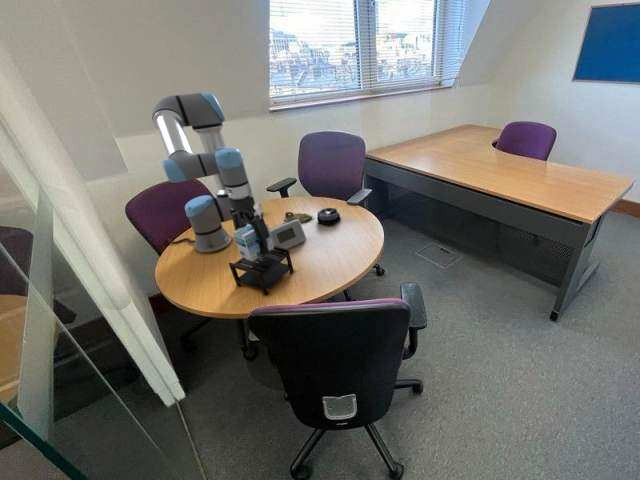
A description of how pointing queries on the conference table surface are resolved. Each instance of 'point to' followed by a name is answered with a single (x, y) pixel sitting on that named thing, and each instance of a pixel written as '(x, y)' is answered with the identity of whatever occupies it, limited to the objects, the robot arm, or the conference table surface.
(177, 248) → the conference table surface
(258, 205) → the mineral specimen
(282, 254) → the rack
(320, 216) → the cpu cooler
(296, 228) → the digital clock
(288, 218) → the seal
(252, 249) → the light bulb box
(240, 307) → the conference table surface
